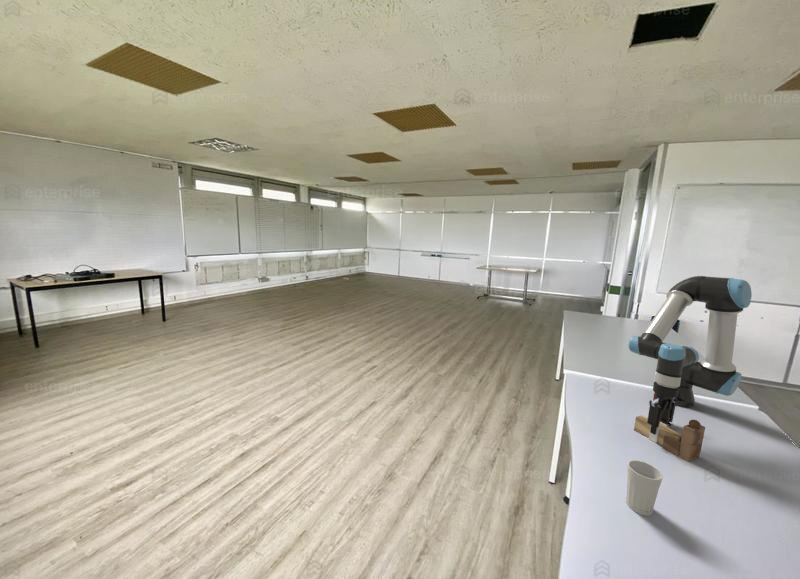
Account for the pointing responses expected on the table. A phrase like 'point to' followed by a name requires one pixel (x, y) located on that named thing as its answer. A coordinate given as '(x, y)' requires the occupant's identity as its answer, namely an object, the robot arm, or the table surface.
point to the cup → (642, 486)
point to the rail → (644, 429)
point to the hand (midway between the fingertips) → (656, 439)
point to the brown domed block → (687, 442)
